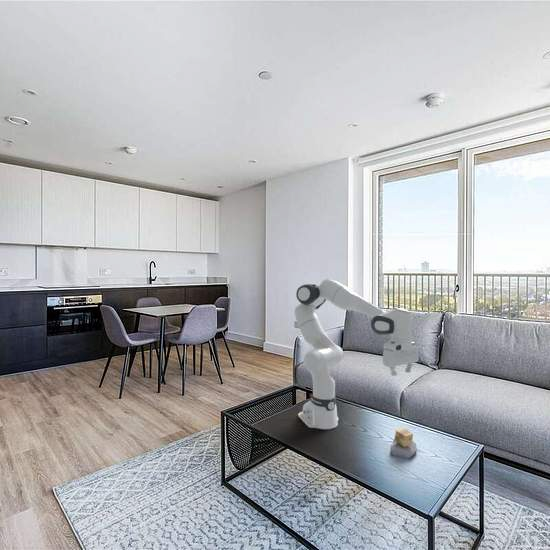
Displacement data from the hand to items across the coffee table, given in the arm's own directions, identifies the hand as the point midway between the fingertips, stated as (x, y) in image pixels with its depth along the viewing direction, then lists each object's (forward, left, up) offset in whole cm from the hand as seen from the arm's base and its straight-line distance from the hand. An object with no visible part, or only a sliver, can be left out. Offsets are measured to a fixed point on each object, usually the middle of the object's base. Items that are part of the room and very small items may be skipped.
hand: (401, 373), depth 159 cm
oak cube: (+7, -6, -27) cm, 29 cm away
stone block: (+7, -6, -32) cm, 33 cm away
